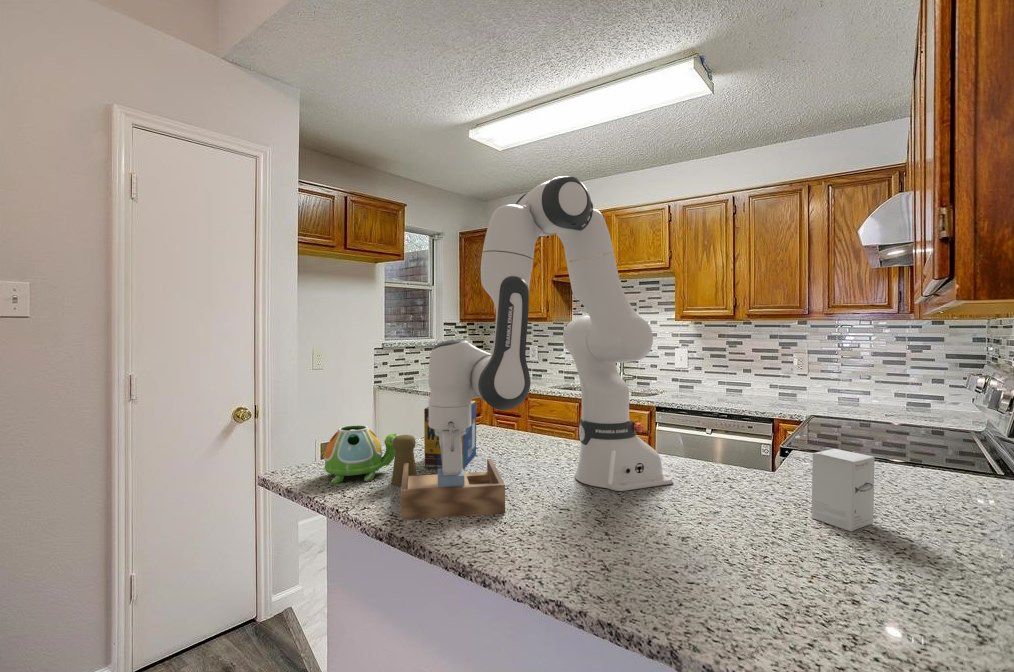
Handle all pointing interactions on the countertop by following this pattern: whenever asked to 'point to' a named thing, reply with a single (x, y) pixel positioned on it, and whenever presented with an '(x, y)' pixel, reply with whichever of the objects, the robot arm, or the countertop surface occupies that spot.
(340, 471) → the turtle holder
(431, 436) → the protein box
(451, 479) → the slate block
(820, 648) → the countertop surface
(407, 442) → the cork
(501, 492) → the tray
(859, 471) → the supplement box
